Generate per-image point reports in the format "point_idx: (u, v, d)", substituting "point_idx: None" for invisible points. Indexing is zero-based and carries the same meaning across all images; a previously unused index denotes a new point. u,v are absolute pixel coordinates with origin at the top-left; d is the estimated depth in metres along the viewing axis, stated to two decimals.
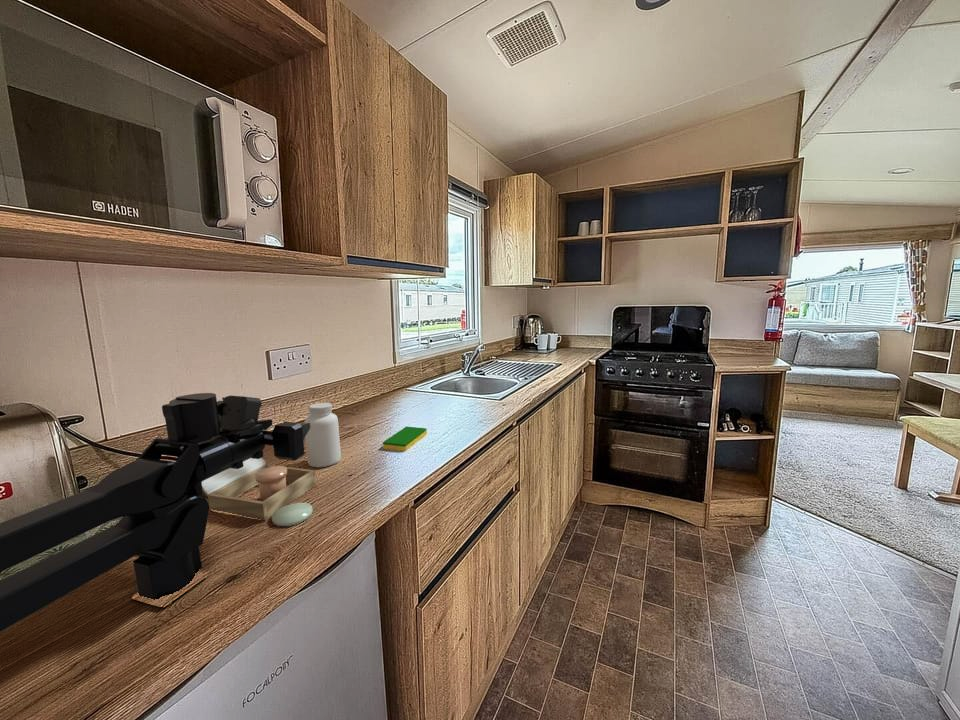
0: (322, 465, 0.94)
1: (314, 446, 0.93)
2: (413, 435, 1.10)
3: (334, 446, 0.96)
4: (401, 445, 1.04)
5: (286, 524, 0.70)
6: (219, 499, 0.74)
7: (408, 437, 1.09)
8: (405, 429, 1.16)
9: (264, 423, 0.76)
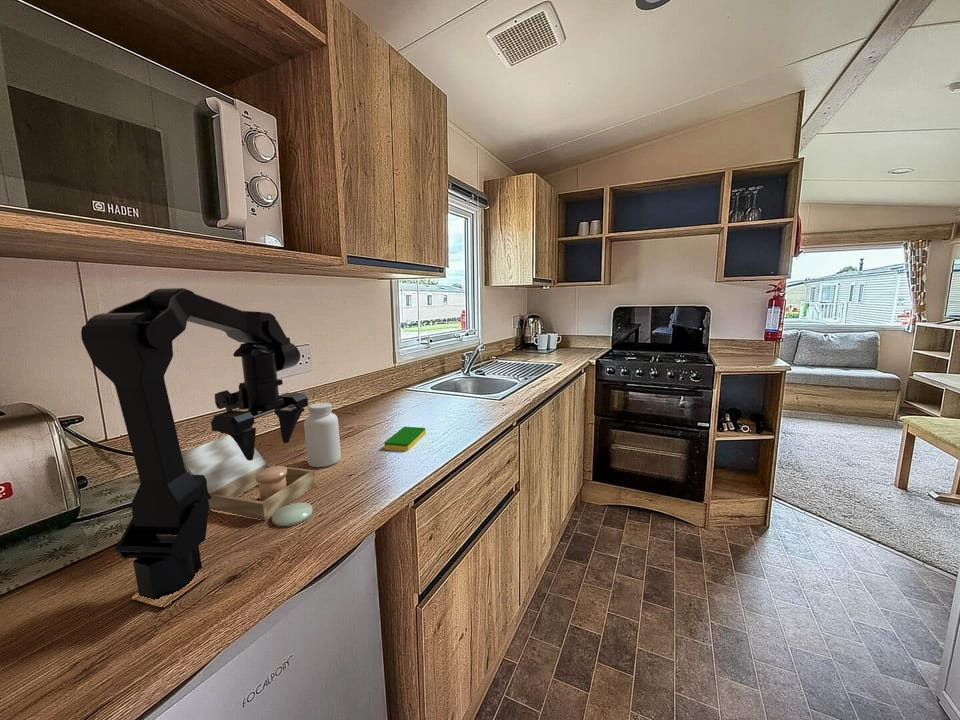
0: (322, 465, 0.94)
1: (314, 446, 0.93)
2: (414, 435, 1.10)
3: (334, 446, 0.96)
4: (403, 445, 1.04)
5: (286, 524, 0.70)
6: (219, 499, 0.74)
7: (409, 437, 1.09)
8: (404, 429, 1.15)
9: None
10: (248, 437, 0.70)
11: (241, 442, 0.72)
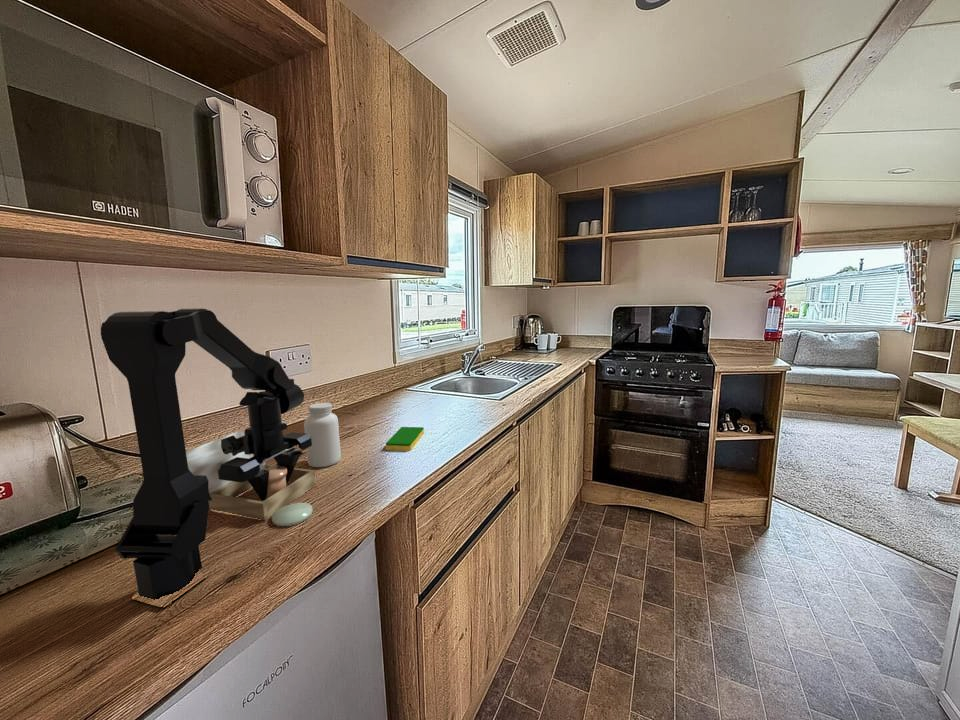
0: (322, 465, 0.94)
1: (314, 446, 0.93)
2: (414, 435, 1.11)
3: (334, 446, 0.96)
4: (406, 445, 1.04)
5: (286, 524, 0.70)
6: (219, 499, 0.74)
7: (409, 437, 1.09)
8: (402, 429, 1.15)
9: None
10: (262, 480, 0.74)
11: (255, 484, 0.75)
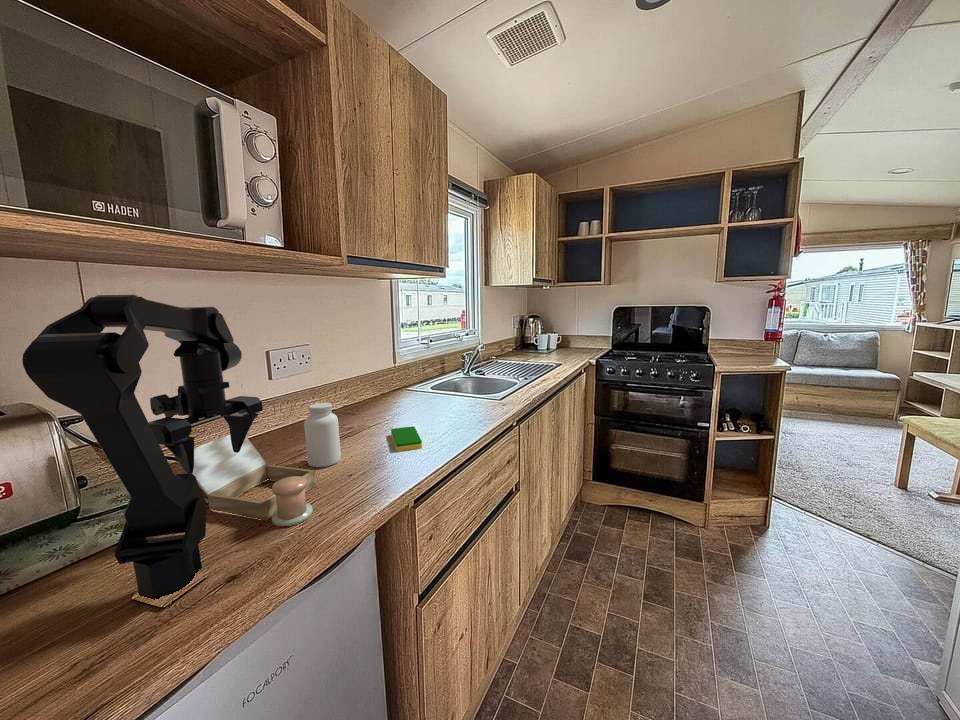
0: (322, 465, 0.94)
1: (314, 446, 0.93)
2: (415, 433, 1.12)
3: (334, 446, 0.96)
4: (417, 443, 1.05)
5: (286, 524, 0.70)
6: (219, 499, 0.74)
7: (413, 435, 1.10)
8: (396, 431, 1.14)
9: None
10: (184, 448, 0.62)
11: (178, 453, 0.64)
